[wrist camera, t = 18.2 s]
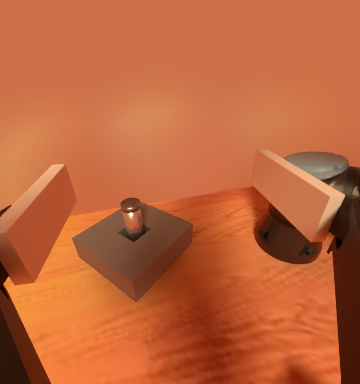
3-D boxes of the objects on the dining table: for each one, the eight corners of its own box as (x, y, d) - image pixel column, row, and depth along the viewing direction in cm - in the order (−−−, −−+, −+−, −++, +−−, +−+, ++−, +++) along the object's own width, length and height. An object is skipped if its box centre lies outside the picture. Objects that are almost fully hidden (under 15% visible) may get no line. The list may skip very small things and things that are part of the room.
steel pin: (138, 240, 54) (130, 195, 47) (149, 247, 52) (143, 201, 45) (125, 250, 51) (116, 204, 44) (137, 258, 49) (129, 210, 42)
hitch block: (138, 215, 63) (135, 199, 60) (192, 241, 53) (192, 223, 50) (79, 256, 50) (72, 238, 46) (136, 302, 39) (132, 282, 36)
